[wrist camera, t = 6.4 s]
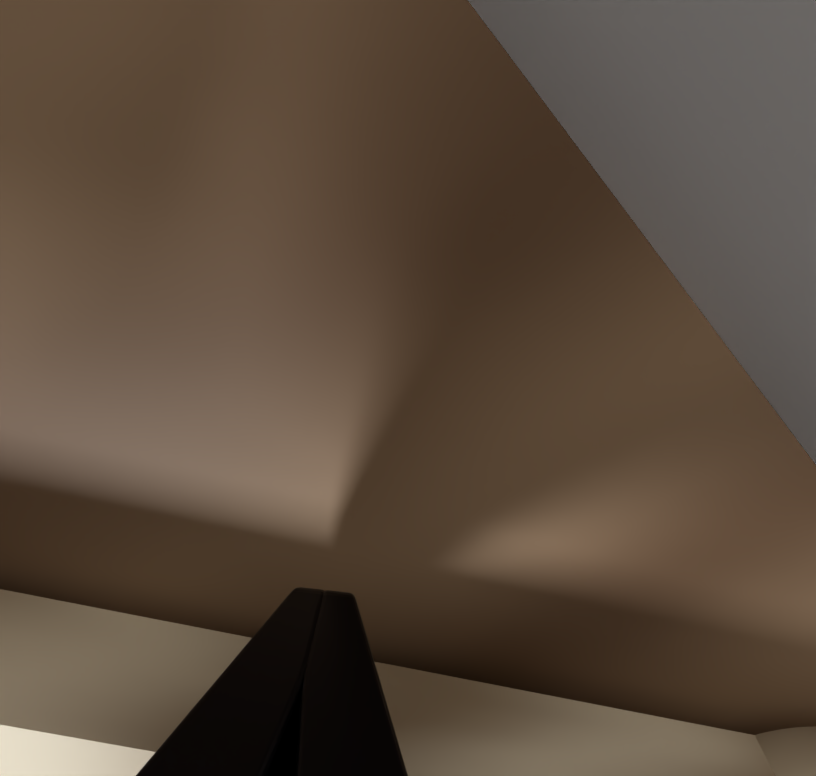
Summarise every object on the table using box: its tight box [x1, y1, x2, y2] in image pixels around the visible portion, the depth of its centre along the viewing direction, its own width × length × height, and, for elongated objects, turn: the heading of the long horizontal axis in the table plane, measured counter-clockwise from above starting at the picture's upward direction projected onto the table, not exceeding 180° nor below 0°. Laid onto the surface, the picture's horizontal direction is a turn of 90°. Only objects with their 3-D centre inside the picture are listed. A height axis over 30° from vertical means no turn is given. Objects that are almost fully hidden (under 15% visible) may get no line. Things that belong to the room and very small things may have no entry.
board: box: [0, 0, 816, 735], centre depth 12 cm, size 22×23×2 cm
